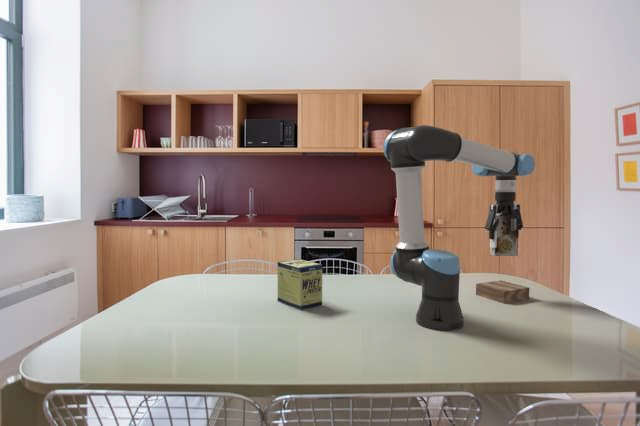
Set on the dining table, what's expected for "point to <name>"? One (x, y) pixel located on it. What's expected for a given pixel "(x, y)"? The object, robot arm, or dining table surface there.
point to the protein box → (300, 283)
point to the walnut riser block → (502, 291)
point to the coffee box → (506, 236)
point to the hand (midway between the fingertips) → (503, 246)
